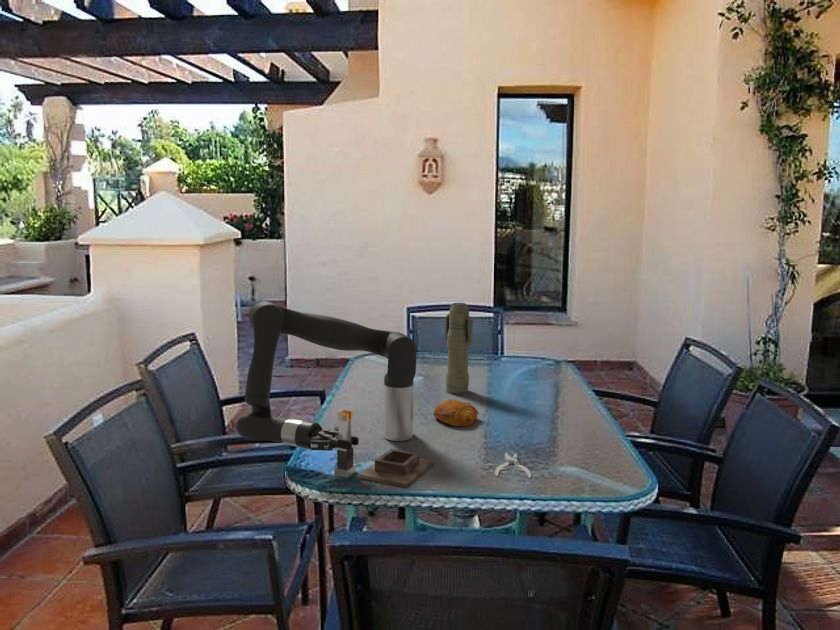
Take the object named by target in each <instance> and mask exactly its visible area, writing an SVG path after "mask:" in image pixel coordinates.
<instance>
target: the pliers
mask: <svg viewBox="0 0 840 630" xmlns="http://www.w3.org/2000/svg"><path fill="white" fill-rule="evenodd" d="M517 455H518V454H517V453H514V454H513V456H510V455H509V454H508V452H505V453H504V460H505V462H504V463H502V464H499V465H498V466H497V467H496V468H495V470H494V474H495V477H499V475H500V472H501V471H505V470H508V469H510V468H511V466H509V465H514V466H513V469H515V470H517V471H520V472H524V473H525V474H526V476H527V477H528V478H529V479H531V478H532V473H531V471H530V470H529V469H528V468H527V467H526V466H524V465H522V464H520V462H519V460H518V459H517Z"/></svg>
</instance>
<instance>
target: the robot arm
mask: <svg viewBox="0 0 840 630" xmlns="http://www.w3.org/2000/svg"><path fill="white" fill-rule="evenodd" d="M248 320H249V324H250V325H251V327H252V328H253V337H254V339H253V340H254V341H253V352H252V357H251V359H250V360H251V361H250V364H249V368H248V373H247V378H246V384H245V391H244V392H245V393H244V401H245V403H246V404H247V405H249V406H251V412H250V413H246V414H242V416H240V417H239V418H238V419H237V421H236V422H235V423H236V424H235V429H236V433H237V434H238V435H239V436H241V437H242V438H244V439H246V440H251V441H273V442H276V443H281V444H286V445H289V446H292V447H297V448H302V449H306V450H311V451H328V452H330V451H333V450H334V449H335V450H338V448H341V449H347V450H350V449H352V448H353V446H358V445H359V444H360V443H359V442H360V440H359V437H358V436H354V435H352V442H351V441H345V440H339V441H338V426H334V428H333V429H329V428H322V426H321V425H320V423H319V422H315V421H309V420H305V419H304V420H303V419H298V418H287V417H282V416H281V417H280V416H274V417H272V410H271V402H270V396H271V389H272V380H273V371H274V363H275V357H276V351H277V347H278V343H279V340H280V335H282V334H283V335H289V336H293V337H295V338H296V337H297V338H299V339H301V340H304V341H306V342H309V343H311V344H314V345H317V346H321V347H325V348H328V349H333V350H337V351H346V352H357V351H360V352H368V353H372V354H375V355H379V356H380V357H381V356H382V357H384V358H386V359H387V372H386V374H384V377H383V438H384V439H386V440H388V441H394V442H403V441H409V440H410V439H412V438H413V433H414V432H413V431H414V428H413V427H414V379H415V377H416V373H417V372H416V371H417V357H418V356H417V345H416V343H415V341H414V340H413V339H412V338H411V337H409V336H408V335H406V334H404V333H402V332H400V331H391V330H383V329H382V330H381V329H374V328H371V327H366V326H364V325H361V324H358V323H356V322H352V321H349V320H346V319H341V318H339V317H337V318H336V317H335V316H334V317H333V316H327V315H322V314H316V313H308V312H303V311H301V312H300V311H296V310H293V309H289V308H287V307H284V306H282V305H278V304H275V303H274V302H271V301H259V302H258V303H255V304H254V305H253V306H252V307H251V308H250V309H249V311H248Z"/></svg>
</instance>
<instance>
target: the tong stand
mask: <svg viewBox="0 0 840 630" xmlns="http://www.w3.org/2000/svg"><path fill="white" fill-rule="evenodd" d="M433 465H434V460H431V459H426V458H420V453H416V452H411V451H410V452H409V451H405V450H399V449H394V448H390V449H388V450H387V451H386V452H384V453H383V454H382V455H380V456H379V457H378V458H376V459H375V460H374V463H372V465H371V466H370V465H369V467H367V468H366V469H364V471H362V472H360V473H359V474H358V475H359V477H358V478H359V479H364V480H367V481H372V482H378V483H383V484H387V485H392V486H397V487H398V486H399V487H402V488H407V487H408V486H410V485H411V484H412V483H413V482H415V480H416V479H418V478H419V476H421V475H422V474H423V473H424V472H426V471H427V470H428V469H429V468H430V467H432V466H433Z"/></svg>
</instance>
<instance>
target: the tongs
mask: <svg viewBox="0 0 840 630" xmlns="http://www.w3.org/2000/svg"><path fill="white" fill-rule="evenodd" d="M353 415H354V413H353V410H348V409H343V410H341V411H339V412H337V422H338V423H337V424H338V426H337V427H338V441H339V440H345V441H351V442H352V436H353V418H354V417H353ZM336 457H337V458H336V461H337V462H336V467H334V469H333V472H334V473H333V475H334V476H336V477H337V476H338V477H343V478H346V479H347V478H349V477H350V476H352V475H353V474H354V473H356V472H357V464H356V463H354V447H352V449H350V450H347V449H341V448H338V449H336Z"/></svg>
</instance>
